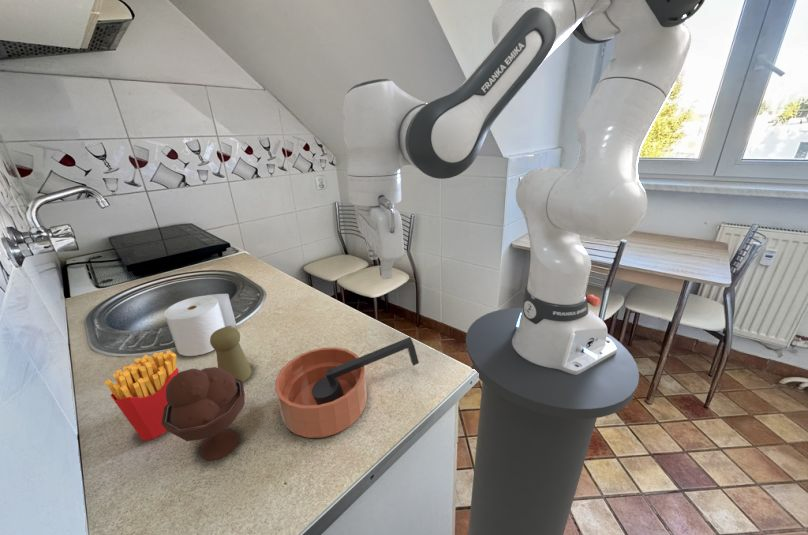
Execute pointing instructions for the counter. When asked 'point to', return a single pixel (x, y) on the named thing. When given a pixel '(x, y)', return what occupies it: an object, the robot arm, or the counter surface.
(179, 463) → the counter surface
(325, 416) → the bowl
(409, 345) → the ladle
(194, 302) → the toilet tissue
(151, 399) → the french fries
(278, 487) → the counter surface
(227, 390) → the ice cream bowl
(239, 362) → the cork
